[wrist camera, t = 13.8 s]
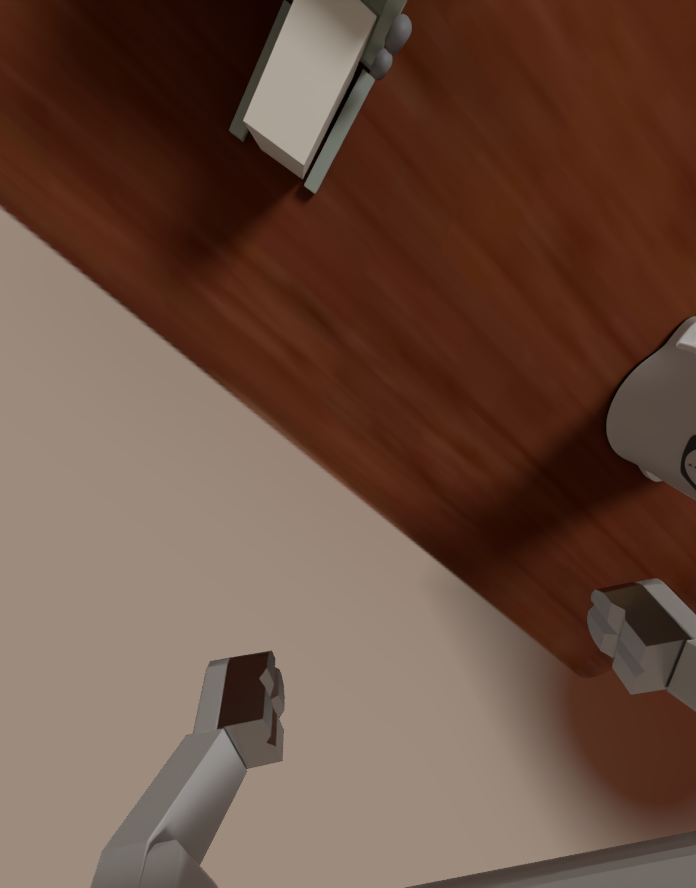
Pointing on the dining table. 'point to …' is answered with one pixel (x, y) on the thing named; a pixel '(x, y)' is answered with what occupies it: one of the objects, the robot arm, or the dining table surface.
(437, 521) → the dining table surface
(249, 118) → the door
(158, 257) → the dining table surface
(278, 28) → the cabinet
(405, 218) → the dining table surface
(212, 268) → the dining table surface
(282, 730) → the robot arm
